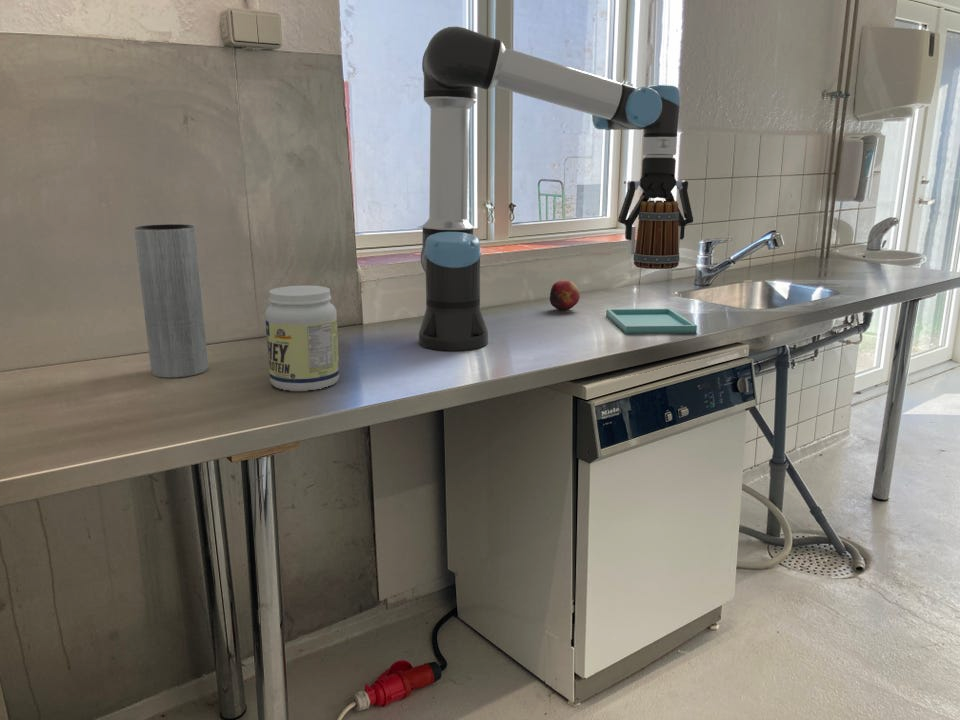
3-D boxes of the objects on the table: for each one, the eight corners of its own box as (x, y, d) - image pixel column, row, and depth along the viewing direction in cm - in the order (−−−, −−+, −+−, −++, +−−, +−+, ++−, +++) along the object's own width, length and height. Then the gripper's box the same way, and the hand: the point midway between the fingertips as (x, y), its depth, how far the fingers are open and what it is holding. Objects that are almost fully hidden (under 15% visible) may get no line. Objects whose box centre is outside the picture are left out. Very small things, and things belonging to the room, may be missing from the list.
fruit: (583, 312, 195) (584, 282, 192) (557, 314, 192) (558, 283, 190) (569, 307, 202) (570, 277, 199) (544, 309, 199) (545, 279, 197)
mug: (680, 269, 168) (684, 202, 164) (632, 268, 170) (635, 202, 166) (677, 261, 183) (680, 199, 179) (633, 260, 185) (636, 199, 181)
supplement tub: (257, 383, 132) (249, 289, 128) (316, 370, 140) (311, 281, 136) (293, 398, 124) (286, 298, 119) (353, 383, 132) (349, 289, 128)
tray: (625, 334, 170) (625, 326, 169) (606, 315, 190) (606, 309, 189) (696, 333, 171) (696, 325, 170) (669, 315, 191) (670, 308, 190)
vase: (148, 380, 134) (130, 229, 127) (155, 366, 143) (138, 224, 136) (206, 376, 136) (192, 228, 129) (209, 362, 146) (196, 223, 138)
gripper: (614, 156, 166) (610, 255, 172) (713, 156, 167) (705, 255, 173) (607, 156, 173) (603, 252, 179) (701, 156, 174) (694, 251, 180)
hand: (653, 253), depth 176 cm, fingers closed on mug, 10 cm apart
